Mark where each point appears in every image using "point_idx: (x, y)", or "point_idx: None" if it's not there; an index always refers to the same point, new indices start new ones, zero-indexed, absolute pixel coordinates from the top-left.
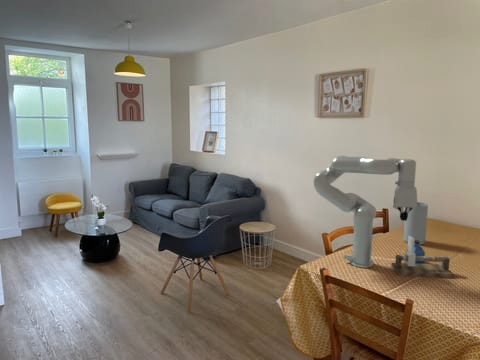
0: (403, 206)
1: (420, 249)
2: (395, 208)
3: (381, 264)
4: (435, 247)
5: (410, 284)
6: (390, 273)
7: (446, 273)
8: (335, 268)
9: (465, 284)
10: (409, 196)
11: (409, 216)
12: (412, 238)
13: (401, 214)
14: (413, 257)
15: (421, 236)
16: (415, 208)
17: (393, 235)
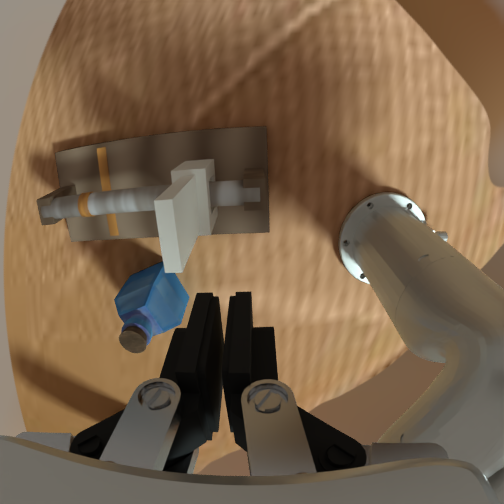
0: (283, 494)
1: (127, 305)
2: (406, 446)
3: (305, 239)
4: (89, 393)
5: (242, 44)
6: (295, 144)
7: (76, 150)
8: (477, 182)
9: (46, 102)
10: None
11: None
12: (165, 217)
13: (271, 367)
14: (184, 167)
15: None
16: (25, 436)
17: None
